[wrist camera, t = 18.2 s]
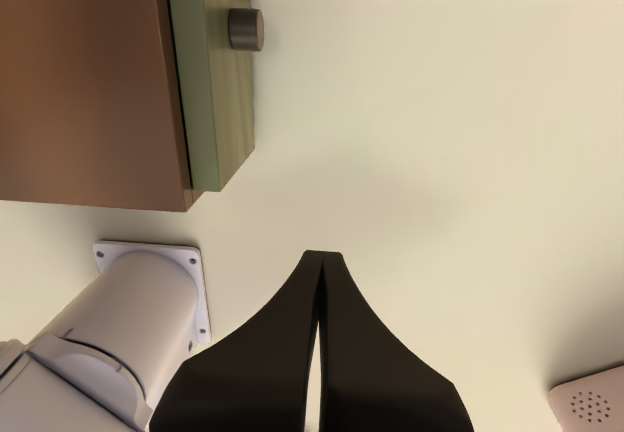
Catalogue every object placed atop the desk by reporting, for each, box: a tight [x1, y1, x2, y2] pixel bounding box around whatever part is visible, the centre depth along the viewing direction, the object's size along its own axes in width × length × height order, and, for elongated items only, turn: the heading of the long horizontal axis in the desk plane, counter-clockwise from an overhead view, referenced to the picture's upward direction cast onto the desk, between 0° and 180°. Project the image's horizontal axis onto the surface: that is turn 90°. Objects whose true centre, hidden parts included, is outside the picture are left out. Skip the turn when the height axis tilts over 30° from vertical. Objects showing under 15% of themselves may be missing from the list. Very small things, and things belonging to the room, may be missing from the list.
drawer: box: [169, 0, 264, 192], centre depth 15 cm, size 15×12×7 cm
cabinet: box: [0, 0, 205, 212], centre depth 15 cm, size 15×14×9 cm
